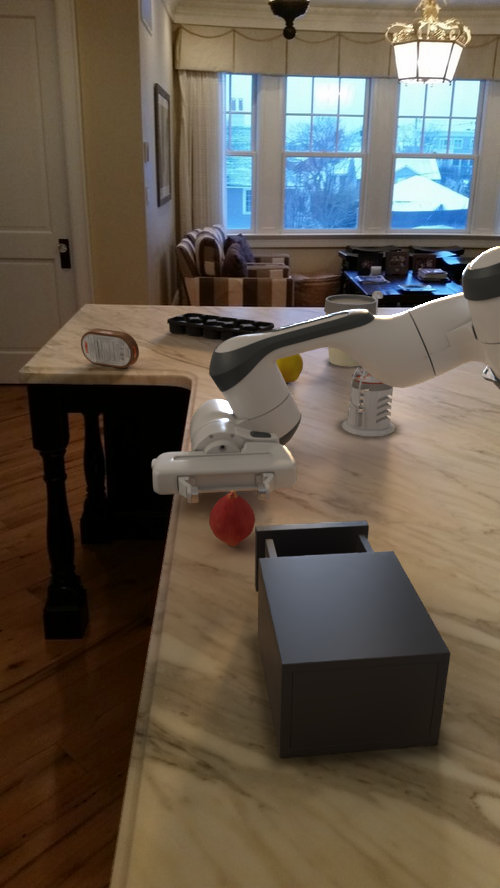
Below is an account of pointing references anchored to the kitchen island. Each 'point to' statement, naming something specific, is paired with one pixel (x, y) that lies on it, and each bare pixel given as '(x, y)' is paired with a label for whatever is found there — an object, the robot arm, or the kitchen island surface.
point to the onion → (232, 519)
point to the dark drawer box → (348, 654)
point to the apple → (290, 367)
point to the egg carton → (215, 326)
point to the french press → (369, 402)
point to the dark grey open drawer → (310, 540)
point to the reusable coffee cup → (344, 304)
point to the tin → (109, 348)
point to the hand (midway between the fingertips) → (228, 496)
